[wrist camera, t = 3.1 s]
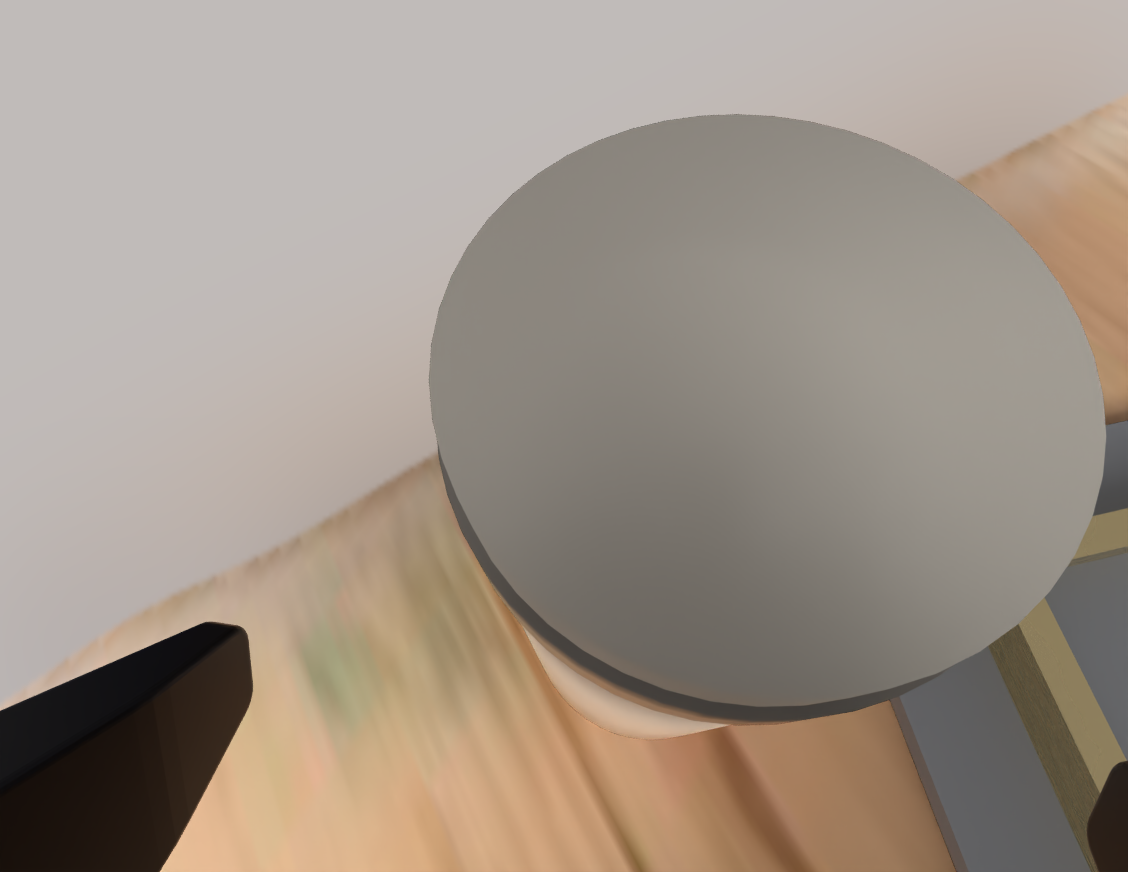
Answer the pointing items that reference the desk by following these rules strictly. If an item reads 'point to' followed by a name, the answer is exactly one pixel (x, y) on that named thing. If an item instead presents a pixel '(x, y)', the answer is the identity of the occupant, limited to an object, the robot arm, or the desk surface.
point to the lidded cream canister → (759, 422)
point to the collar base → (1035, 711)
